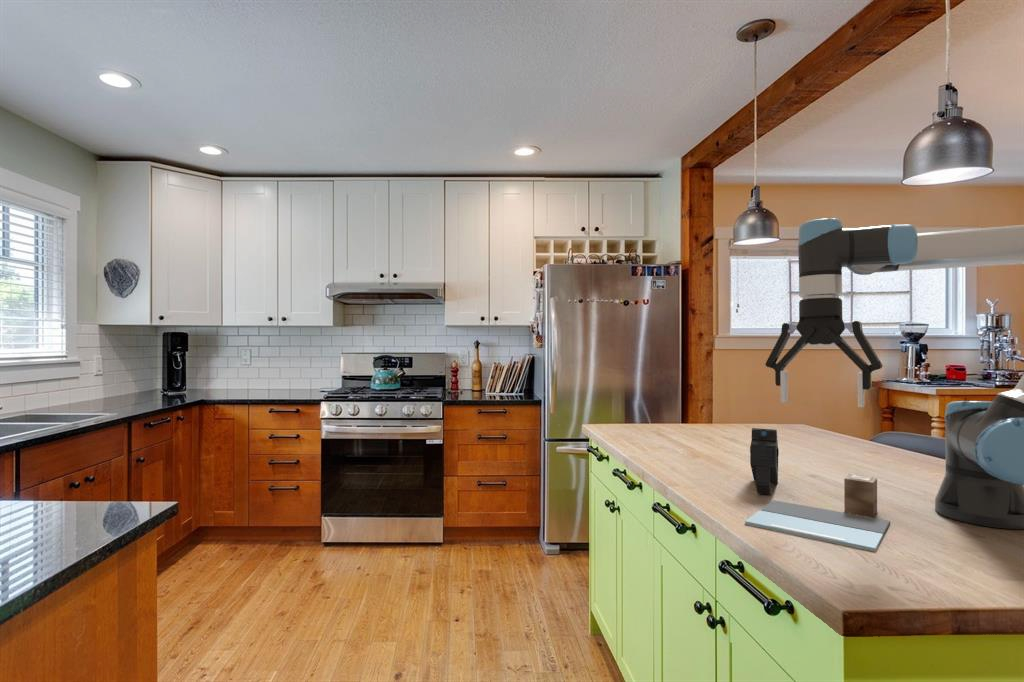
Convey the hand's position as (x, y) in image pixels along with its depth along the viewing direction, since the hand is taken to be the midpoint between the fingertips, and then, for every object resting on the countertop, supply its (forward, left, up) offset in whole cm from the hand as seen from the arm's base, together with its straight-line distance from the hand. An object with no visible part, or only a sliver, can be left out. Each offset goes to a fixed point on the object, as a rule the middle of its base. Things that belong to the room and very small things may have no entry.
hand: (821, 404), depth 108 cm
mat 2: (0, +10, -23) cm, 25 cm away
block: (-5, -9, -23) cm, 25 cm away
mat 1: (0, 0, -23) cm, 23 cm away
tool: (+16, -17, -23) cm, 33 cm away
